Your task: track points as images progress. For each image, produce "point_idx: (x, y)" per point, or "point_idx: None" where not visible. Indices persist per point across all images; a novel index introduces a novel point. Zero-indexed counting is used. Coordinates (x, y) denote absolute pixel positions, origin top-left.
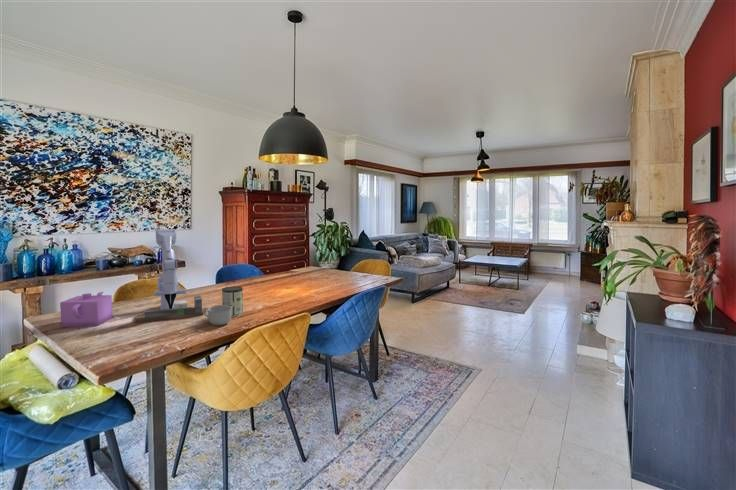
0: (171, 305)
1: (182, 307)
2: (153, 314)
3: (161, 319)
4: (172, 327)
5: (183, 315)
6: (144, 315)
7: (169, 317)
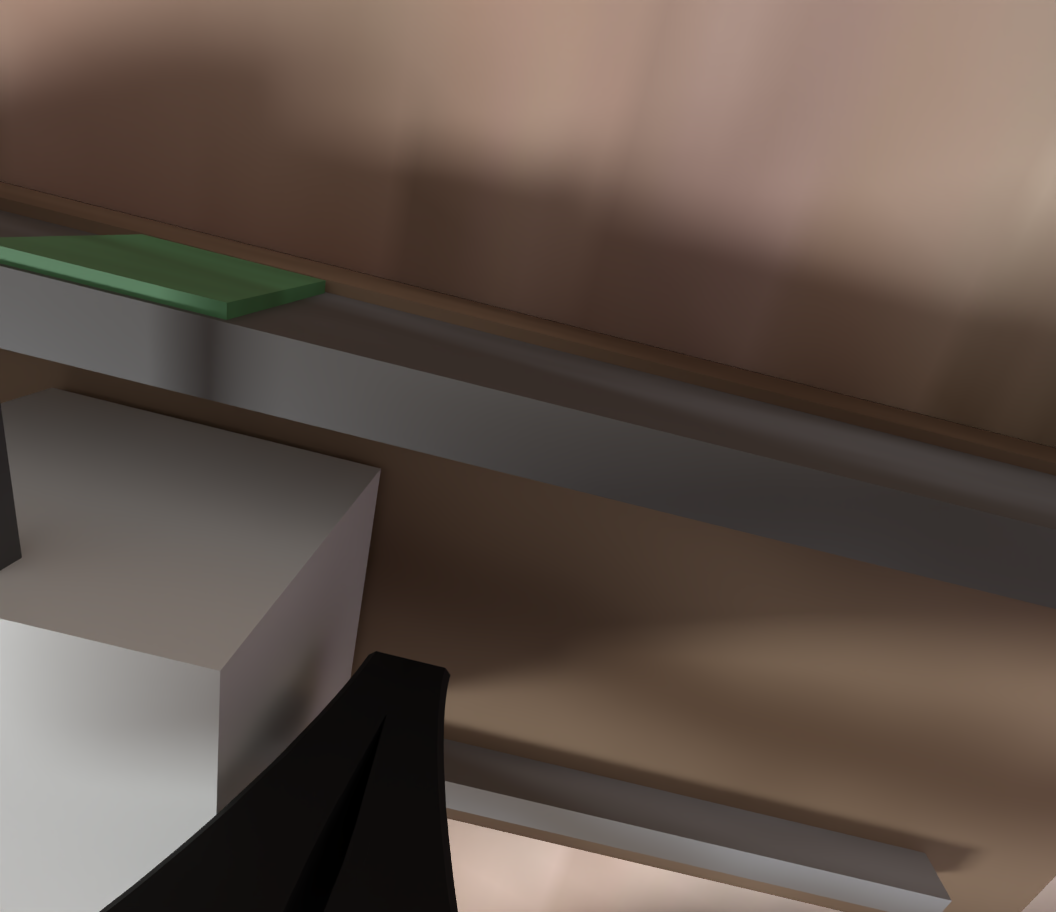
0: (350, 734)
1: (30, 485)
2: (999, 489)
3: (724, 368)
4: None
5: (176, 234)
6: (976, 754)
7: (540, 324)
